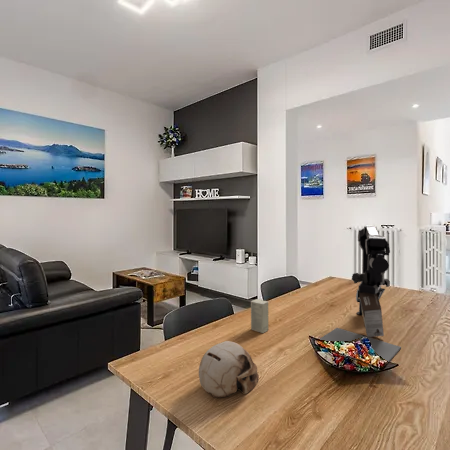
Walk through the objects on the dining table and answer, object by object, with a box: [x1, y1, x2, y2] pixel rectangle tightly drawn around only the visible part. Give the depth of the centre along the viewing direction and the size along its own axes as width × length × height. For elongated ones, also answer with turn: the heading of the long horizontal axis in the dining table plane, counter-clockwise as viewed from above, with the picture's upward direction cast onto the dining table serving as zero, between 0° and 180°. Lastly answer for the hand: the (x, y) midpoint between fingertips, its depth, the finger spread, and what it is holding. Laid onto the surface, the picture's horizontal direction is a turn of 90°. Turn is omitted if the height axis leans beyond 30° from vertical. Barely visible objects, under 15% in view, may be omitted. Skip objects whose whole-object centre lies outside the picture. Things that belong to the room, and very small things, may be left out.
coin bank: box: [198, 340, 260, 398], centre depth 84 cm, size 16×17×13 cm
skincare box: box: [250, 298, 269, 334], centre depth 123 cm, size 6×4×12 cm
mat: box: [319, 327, 402, 363], centre depth 110 cm, size 20×24×1 cm
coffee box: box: [359, 292, 385, 338], centre depth 116 cm, size 9×6×16 cm
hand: (374, 306), depth 120 cm, fingers closed
